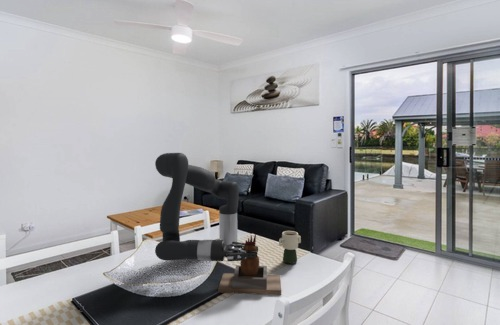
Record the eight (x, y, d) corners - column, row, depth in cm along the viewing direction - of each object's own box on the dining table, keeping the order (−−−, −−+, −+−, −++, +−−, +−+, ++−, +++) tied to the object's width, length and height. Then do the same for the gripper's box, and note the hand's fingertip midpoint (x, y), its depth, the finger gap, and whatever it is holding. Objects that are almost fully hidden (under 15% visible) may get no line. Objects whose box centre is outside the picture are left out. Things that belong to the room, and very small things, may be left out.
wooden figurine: (261, 273, 106) (261, 233, 105) (255, 279, 101) (255, 237, 100) (245, 269, 109) (245, 230, 108) (238, 275, 104) (238, 235, 103)
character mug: (296, 257, 132) (296, 229, 131) (304, 263, 125) (305, 233, 124) (275, 261, 127) (275, 232, 127) (283, 267, 121) (283, 237, 120)
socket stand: (223, 276, 112) (223, 264, 112) (279, 278, 111) (280, 265, 110) (218, 292, 100) (218, 278, 100) (281, 294, 99) (281, 280, 98)
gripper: (207, 247, 98) (257, 248, 97) (215, 234, 112) (258, 235, 111) (207, 268, 98) (256, 270, 97) (215, 253, 113) (258, 254, 112)
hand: (257, 251), depth 104 cm, fingers closed on wooden figurine, 4 cm apart
